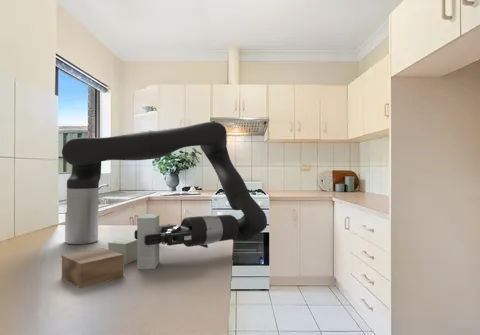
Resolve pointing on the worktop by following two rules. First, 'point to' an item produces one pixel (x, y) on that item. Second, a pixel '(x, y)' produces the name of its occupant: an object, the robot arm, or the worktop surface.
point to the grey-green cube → (125, 248)
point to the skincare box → (147, 253)
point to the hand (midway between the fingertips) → (139, 237)
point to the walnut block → (92, 267)
